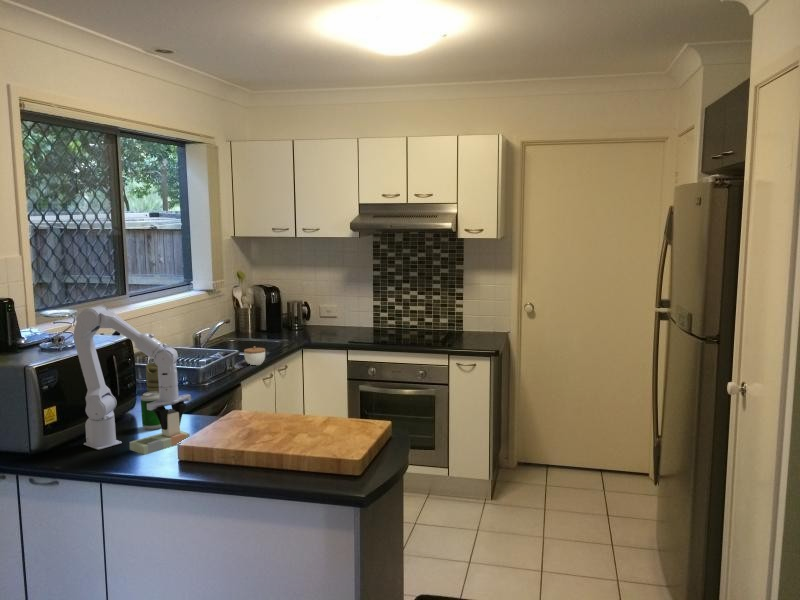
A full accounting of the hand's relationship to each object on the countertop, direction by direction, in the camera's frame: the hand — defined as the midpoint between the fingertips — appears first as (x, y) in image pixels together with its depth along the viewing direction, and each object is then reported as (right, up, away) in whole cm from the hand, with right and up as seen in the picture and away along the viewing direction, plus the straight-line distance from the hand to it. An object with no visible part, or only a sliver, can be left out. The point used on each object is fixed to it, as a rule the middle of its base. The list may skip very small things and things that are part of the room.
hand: (170, 427), depth 213 cm
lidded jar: (0, +8, +127) cm, 127 cm away
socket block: (-2, -5, -3) cm, 6 cm away
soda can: (-12, -4, +18) cm, 21 cm away
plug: (0, -2, 0) cm, 2 cm away
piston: (-29, +1, +72) cm, 77 cm away
